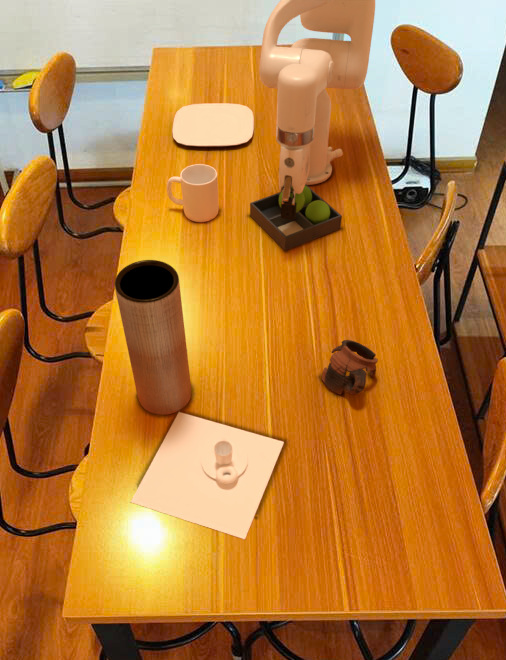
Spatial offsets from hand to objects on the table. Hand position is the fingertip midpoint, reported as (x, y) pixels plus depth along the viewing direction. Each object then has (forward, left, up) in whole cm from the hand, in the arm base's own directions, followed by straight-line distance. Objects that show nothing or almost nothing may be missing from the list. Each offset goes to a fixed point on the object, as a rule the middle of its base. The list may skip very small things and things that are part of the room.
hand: (291, 209), depth 150 cm
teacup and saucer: (+46, +46, -8) cm, 66 cm away
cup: (+14, -20, -8) cm, 26 cm away
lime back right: (-8, 0, -4) cm, 8 cm away
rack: (-4, -4, -7) cm, 9 cm away
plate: (-8, -50, -8) cm, 51 cm away
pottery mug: (+14, +42, -8) cm, 45 cm away
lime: (0, 0, +2) cm, 2 cm away
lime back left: (-8, -8, -4) cm, 11 cm away
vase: (+45, +27, -8) cm, 53 cm away
